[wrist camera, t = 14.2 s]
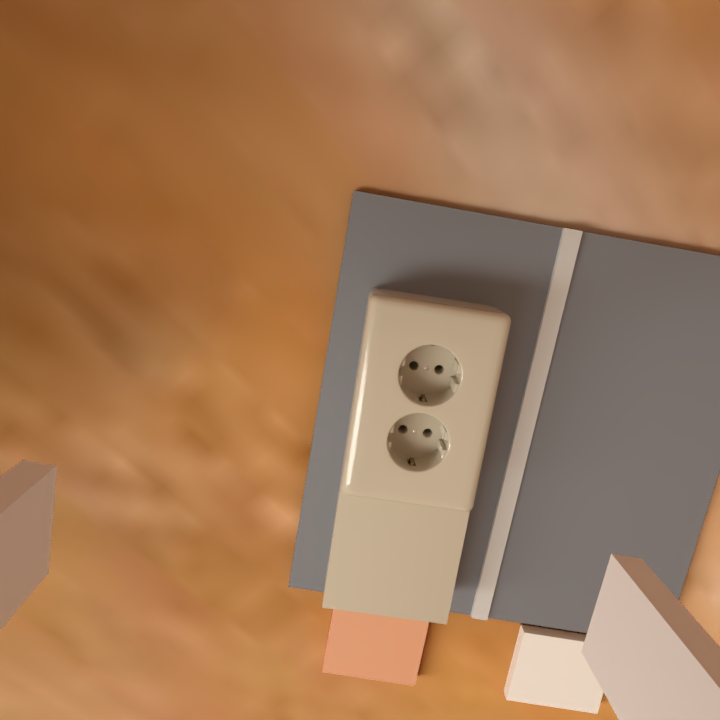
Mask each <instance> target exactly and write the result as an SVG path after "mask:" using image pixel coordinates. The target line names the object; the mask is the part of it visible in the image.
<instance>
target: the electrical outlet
mask: <svg viewBox="0 0 720 720" xmlns="http://www.w3.org/2000/svg"><path fill="white" fill-rule="evenodd" d="M510 325H511V318H510V317H509V316H508V315H507V314H506V313H504V312H502V311H501V310H499V309H497V308H496V307H494V306H492V305H486V304H480V303H473V302H466V301H460V300H453V299H446V298H440V297H433V296H426V295H419V294H413V293H406V292H399V291H393V290H386V289H379V288H372V289H370V291H369V293H368V300H367V306H366V313H365V319H364V326H363V332H362V339H361V346H360V352H359V359H358V365H357V372H356V379H355V385H354V392H353V398H352V405H351V411H350V418H349V425H348V431H347V438H346V444H345V451H344V457H343V464H342V471H341V477H340V484H339V490H338V497H337V504H336V510H335V517H334V523H333V530H332V536H331V543H330V550H329V556H328V563H327V569H326V576H325V585H324V594H323V604H322V608H329V609H336V610H344V611H351V612H359V613H366V614H373V615H381V616H388V617H396V618H403V619H411V620H418V621H425V622H433V623H440V624H447V621H448V616H449V612H450V607H451V602H452V597H453V592H454V587H455V582H456V577H457V572H458V567H459V562H460V558H461V553H462V548H463V543H464V538H465V533H466V528H467V523H468V518H469V513H470V510H472V508H473V506H474V501H475V496H476V491H477V486H478V481H479V476H480V471H481V467H482V462H483V457H484V452H485V447H486V442H487V437H488V432H489V427H490V423H491V418H492V413H493V408H494V403H495V398H496V393H497V388H498V384H499V379H500V374H501V369H502V364H503V359H504V354H505V349H506V344H507V340H508V335H509V330H510Z"/></svg>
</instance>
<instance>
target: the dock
mask: <svg viewBox="0 0 720 720" xmlns="http://www.w3.org/2000/svg"><path fill="white" fill-rule="evenodd" d="M372 288H379V289H386V290H393V291H399V292H406V293H413V294H419V295H426V296H433V297H440V298H446V299H453V300H460V301H466V302H473V303H480V304H486V305H492V306H494V307H496V308H497V309H499V310H501V311H502V312H504V313H506V314H507V315H508V316H509V317H510V318H511V325H510V330H509V335H508V340H507V344H506V349H505V354H504V359H503V364H502V369H501V374H500V379H499V384H498V388H497V393H496V398H495V403H494V408H493V413H492V418H491V423H490V427H489V432H488V437H487V442H486V447H485V452H484V457H483V462H482V467H481V471H480V476H479V481H478V486H477V491H476V496H475V501H474V506H473V508H472V510H470V513H469V518H468V523H467V528H466V533H465V538H464V543H463V548H462V553H461V558H460V562H459V567H458V572H457V577H456V582H455V587H454V592H453V597H452V602H451V607H450V612H454V613H461V614H467V615H471V618H474V619H481V620H487V619H488V618H493V619H499V620H506V621H512V622H519V623H525V624H531V625H538V626H544V627H551V628H557V629H563V630H570V631H576V632H583V633H587V631H588V628H589V625H590V622H591V618H592V615H593V612H594V609H595V605H596V602H597V599H598V595H599V592H600V589H601V586H602V582H603V579H604V576H605V573H606V569H607V566H608V563H609V560H610V556H611V554H617V555H623V556H629V557H636V558H642V559H643V561H644V562H645V563H646V564H647V565H648V566H649V567H650V568H651V570H652V571H653V572H654V573H655V574H656V575H657V576H658V578H659V579H660V580H661V581H662V582H663V583H664V584H665V585H666V587H667V588H668V589H669V590H670V591H671V592H672V593H673V595H674V596H675V597H676V598H677V599H678V600H679V597H680V594H681V591H682V588H683V585H684V581H685V578H686V575H687V572H688V569H689V566H690V563H691V560H692V556H693V553H694V550H695V547H696V544H697V541H698V538H699V535H700V531H701V528H702V525H703V522H704V519H705V516H706V513H707V510H708V506H709V503H710V500H711V497H712V494H713V491H714V488H715V485H716V481H717V478H718V475H719V472H720V256H718V255H712V254H706V253H701V252H695V251H690V250H684V249H678V248H673V247H667V246H662V245H656V244H650V243H645V242H639V241H634V240H628V239H623V238H617V237H611V236H606V235H600V234H595V233H589V232H583V231H580V230H574V229H568V228H561V227H555V226H550V225H544V224H539V223H533V222H527V221H522V220H516V219H511V218H505V217H499V216H494V215H488V214H483V213H477V212H472V211H466V210H460V209H455V208H449V207H444V206H438V205H432V204H427V203H421V202H416V201H410V200H404V199H399V198H393V197H388V196H382V195H376V194H371V193H365V192H360V191H354V192H353V198H352V204H351V210H350V216H349V222H348V228H347V234H346V240H345V246H344V252H343V258H342V265H341V271H340V277H339V283H338V289H337V295H336V301H335V307H334V313H333V319H332V325H331V331H330V338H329V344H328V350H327V356H326V362H325V368H324V374H323V380H322V386H321V392H320V398H319V404H318V411H317V417H316V423H315V429H314V435H313V441H312V447H311V453H310V459H309V465H308V471H307V477H306V484H305V490H304V496H303V502H302V508H301V514H300V520H299V526H298V532H297V538H296V544H295V550H294V557H293V563H292V569H291V575H290V581H289V587H294V588H300V589H307V590H313V591H319V592H324V585H325V576H326V569H327V563H328V556H329V550H330V543H331V536H332V530H333V523H334V517H335V510H336V504H337V497H338V490H339V484H340V477H341V471H342V464H343V457H344V451H345V444H346V438H347V431H348V425H349V418H350V411H351V405H352V398H353V392H354V385H355V379H356V372H357V365H358V359H359V352H360V346H361V339H362V332H363V326H364V319H365V313H366V306H367V300H368V293H369V291H370V289H372ZM428 625H429V622H425V621H418V620H411V619H403V618H396V617H388V616H381V615H373V614H366V613H359V612H351V611H344V610H336V609H333V612H332V617H331V623H330V628H329V634H328V639H327V644H326V650H325V655H324V661H323V669H322V672H325V673H331V674H338V675H344V676H351V677H358V678H364V679H371V680H378V681H384V682H391V683H397V684H404V685H411V686H415V683H416V679H417V674H418V670H419V665H420V661H421V656H422V652H423V647H424V643H425V638H426V634H427V630H428ZM585 638H586V634H580V633H573V632H567V631H560V630H554V629H548V628H541V627H535V626H528V625H522V624H521V626H520V630H519V634H518V637H517V641H516V645H515V649H514V653H513V657H512V661H511V664H510V668H509V672H508V676H507V680H506V684H505V688H504V693H505V697H506V700H510V701H516V702H523V703H530V704H536V705H543V706H549V707H556V708H563V709H569V710H576V711H583V712H589V713H596V714H597V713H598V709H599V706H600V703H601V700H602V696H603V693H604V692H603V690H602V688H601V687H600V685H599V683H598V681H597V679H596V677H595V676H594V674H593V672H592V670H591V668H590V667H589V665H588V663H587V661H586V659H585V657H584V656H583V654H582V652H581V651H582V648H583V644H584V641H585Z"/></svg>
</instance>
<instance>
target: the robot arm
mask: <svg viewBox="0 0 720 720" xmlns="http://www.w3.org/2000/svg"><path fill="white" fill-rule="evenodd" d="M56 474H57V465H51V464H45V463H39V462H33V461H26V460H22V461H21V462H19V463H18V464H17V465H15V466H14V467H13V468H11V469H10V470H8V471H7V472H6V473H4V474H3V475H2V476H0V630H1V629H2V628H3V626H4V625H5V624H6V623H7V622H8V620H9V619H10V618H11V617H12V616H13V615H14V613H15V612H16V611H17V610H18V609H19V607H20V606H21V605H22V604H23V603H24V601H25V600H26V599H27V598H28V597H29V596H30V594H31V593H32V592H33V591H34V590H35V588H36V587H37V586H38V585H39V584H40V582H41V581H42V580H43V579H44V578H45V576H46V575H47V574H48V572H49V560H50V547H51V535H52V523H53V511H54V499H55V486H56ZM581 652H582V654H583V656H584V657H585V659H586V661H587V663H588V665H589V667H590V668H591V670H592V672H593V674H594V676H595V677H596V679H597V681H598V683H599V685H600V687H601V688H602V690H603V692H604V694H605V696H606V697H607V699H608V701H609V703H610V705H611V706H612V708H613V710H614V712H615V714H616V716H617V717H618V719H619V720H720V647H719V645H718V644H717V643H716V642H715V641H714V640H713V639H712V638H711V636H710V635H709V634H708V633H707V632H706V631H705V630H704V629H703V627H702V626H701V625H700V624H699V623H698V622H697V621H696V619H695V618H694V617H693V616H692V615H691V614H690V613H689V612H688V610H687V609H686V608H685V607H684V606H683V605H682V604H681V602H680V601H679V600H678V599H677V598H676V597H675V596H674V595H673V593H672V592H671V591H670V590H669V589H668V588H667V587H666V585H665V584H664V583H663V582H662V581H661V580H660V579H659V578H658V576H657V575H656V574H655V573H654V572H653V571H652V570H651V568H650V567H649V566H648V565H647V564H646V563H645V562H644V561H643V559H642V558H636V557H629V556H623V555H617V554H611V556H610V560H609V563H608V566H607V569H606V573H605V576H604V579H603V582H602V586H601V589H600V592H599V595H598V599H597V602H596V605H595V609H594V612H593V615H592V618H591V622H590V625H589V628H588V631H587V635H586V638H585V641H584V644H583V648H582V651H581Z"/></svg>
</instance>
